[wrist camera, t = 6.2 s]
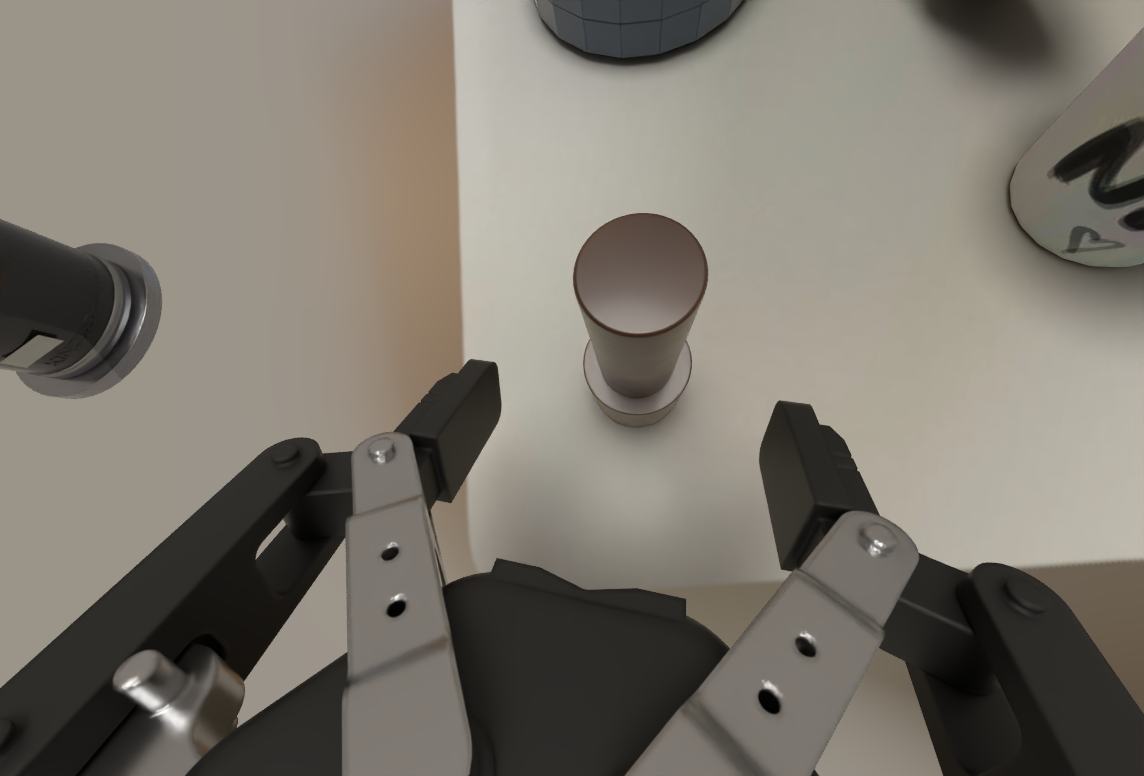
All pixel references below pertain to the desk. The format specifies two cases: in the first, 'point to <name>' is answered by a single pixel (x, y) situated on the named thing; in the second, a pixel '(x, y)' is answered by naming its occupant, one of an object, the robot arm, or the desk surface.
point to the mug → (1090, 171)
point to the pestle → (639, 313)
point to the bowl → (633, 23)
